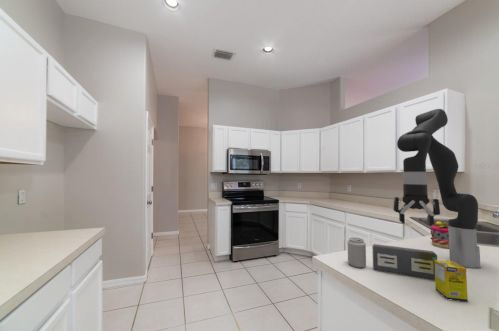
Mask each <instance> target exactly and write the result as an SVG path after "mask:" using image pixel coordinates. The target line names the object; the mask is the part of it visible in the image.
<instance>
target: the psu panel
mask: <svg viewBox="0 0 499 331" xmlns="http://www.w3.org/2000/svg"><path fill="white" fill-rule="evenodd" d="M371 249H372V269H373V271H377V272H384V273H389V274H397V275H401V276H408V277H412V276H413V277H412V278H418V277H419V278H418V279H425V280H430V281H431V280H432V281H435V265H434V260H438V254H437V253H436V252H434V250H425V249H419V248H410V247H403V246H402V247H401V246H393V245H385V244H376V243H373V244H372V248H371Z"/></svg>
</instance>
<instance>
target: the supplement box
mask: <svg viewBox="0 0 499 331" xmlns="http://www.w3.org/2000/svg"><path fill="white" fill-rule="evenodd" d="M434 265H435V280H434V281H435V284H434V286H435V291H436V292H437V293H438V294H440V295H441V296H442V295H443V296H442V297H443V298H445V299H446V298H447V299H446V300H448V299H452V300H451V301H457V300H459V302H465V301H467V302H466V303H468V302H469V299H468V280H467V267H463V266H460V265H458V264H457V263H455V262H453V261H450V260H448V261H447V260H439V259H437V260H434Z"/></svg>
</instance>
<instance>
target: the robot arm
mask: <svg viewBox="0 0 499 331" xmlns="http://www.w3.org/2000/svg"><path fill="white" fill-rule="evenodd" d="M414 119H415V125H416V126H415V127H413V129H411V130H409V131H408V132H406V133H403V134H402V135H401V136H399V138H398V139H397V142H396V146H397V148H398V149H399V151H401V152H405V153H409V152H416V154H415V155H413V156H409V157H406V158H404V159H403V160H402V161H403V163H402V164H403V176H402V186H403V187H402V189H403V190H402V191H403V194H402V195H403V196H402V197H398V196H394V198H393V209H392V210H393V212H396V213H398V217H399V218H398V220H399V222H401V224H403V225H404V224H405V223H406V222H405V221H406V218H405V213H406V211H408V210H409V209H411V210H423V211H424V212H425V213H426V214H427V218H426V219H427V225H428V226H430V227H431V226H433V225H434V224H435V216H440V215H441V209H440V201H439V200H440V199H441V202H442V205H443V207H444V208H445V209H446V210H447V211H449V212H454V213H457V215H456V217H455V218H449V219H447V220H448V221H447V223H448V226H447V227H448V231H449V249H448V251H449V261H453V262H455V263H457V264H458V265H460V266H462V267H464V268H471V269H476V268H478V269H481V251H480V249H481V248H480V246H479V245H478V242H477V241H478V240H477V224H478V221H479V203H478V200H477V198H476V196H474V195H472V194H470V193H469V194H468V193H460V192H457V189H456V187H455V178H456V176H457V173H458V170H459V163H458V159H457V157H456V154H455V152H454V151H453V150H452V149H451V148H449V147H448V146H446V145H444V144H443V143H441V142H440V141H439V140H437V139H436V138H435V137H434V136H433V135H434V134H435V133H436V132H438V131H439V130H440V129H442V128H444V127H445V126H446V125H448V115H447V113H446V111H445V110H444V109H442V108H436V109H432V110H429V111H426V112H424V113H420V114H418V115H416V116H415V118H414ZM427 155H428V156H427ZM427 157H429V161H430V165H431V167H432V170H433V172H434V175H435V178H436V181H437V185H438V189H439V192H440V193H439V194H440V199H438V198H428V195H429V194H428V176H427V175H428V174H427V162H426V161H427ZM401 202H403V206H401V208H400V209H399V206H400V203H401ZM429 203H430V204H431V205H432V210H433V211H432V210H431V209H430V207H429V206H427V205H428V204H429Z"/></svg>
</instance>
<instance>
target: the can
mask: <svg viewBox="0 0 499 331" xmlns="http://www.w3.org/2000/svg"><path fill="white" fill-rule="evenodd" d="M366 244H367V243H366V242H365V240H364V239H363V238H360V237H351V236H350V237H349V238H348V240H347V262H348V264H349V265H350V266H352V267H354V268H358V269H362V268H364V267H366V266H367V251H366V250H367V247H366Z"/></svg>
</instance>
